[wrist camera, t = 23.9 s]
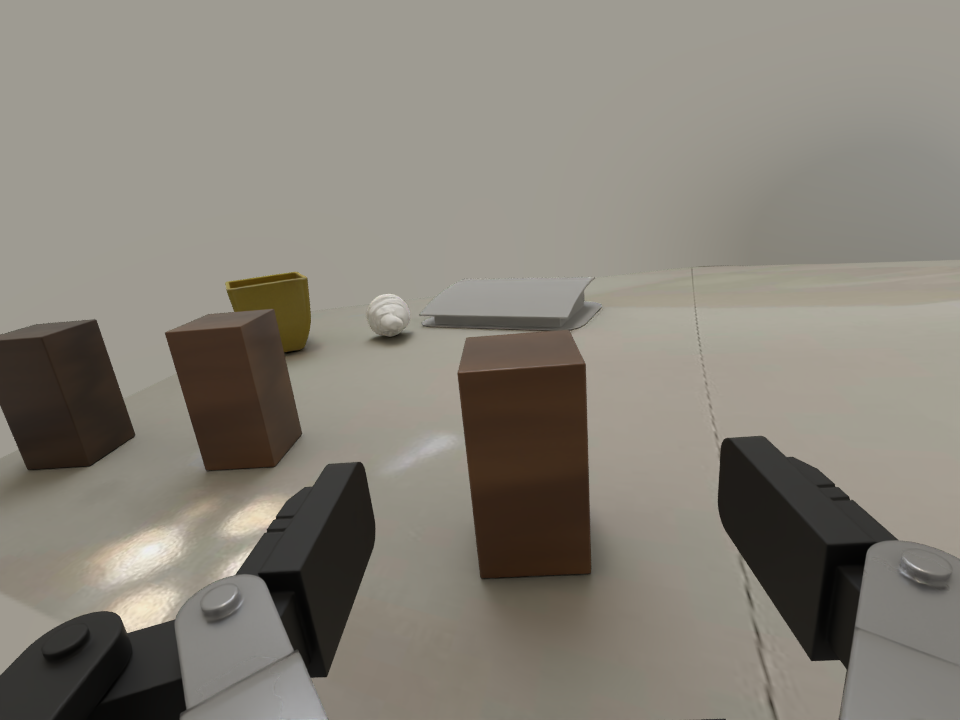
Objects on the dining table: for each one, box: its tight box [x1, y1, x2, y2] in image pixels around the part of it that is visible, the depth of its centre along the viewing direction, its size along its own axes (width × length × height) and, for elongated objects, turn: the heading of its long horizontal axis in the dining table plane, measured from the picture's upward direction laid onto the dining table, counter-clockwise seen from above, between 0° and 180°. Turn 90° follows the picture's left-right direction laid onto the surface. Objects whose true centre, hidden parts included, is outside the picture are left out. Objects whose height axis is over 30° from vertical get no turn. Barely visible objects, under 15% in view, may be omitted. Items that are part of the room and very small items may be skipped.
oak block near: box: [0, 319, 135, 470], centre depth 39 cm, size 5×5×10 cm
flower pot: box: [225, 272, 311, 352], centre depth 63 cm, size 9×9×9 cm
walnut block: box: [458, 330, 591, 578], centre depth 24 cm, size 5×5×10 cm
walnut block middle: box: [165, 309, 302, 470], centre depth 36 cm, size 5×5×10 cm
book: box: [419, 277, 602, 331], centre depth 70 cm, size 15×23×4 cm, turn 65°
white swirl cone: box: [366, 294, 410, 337], centre depth 63 cm, size 6×6×5 cm
